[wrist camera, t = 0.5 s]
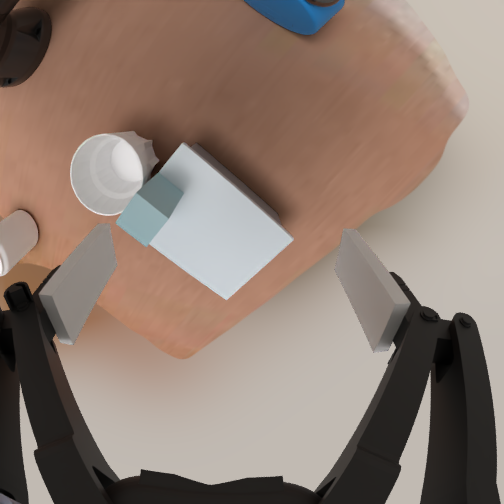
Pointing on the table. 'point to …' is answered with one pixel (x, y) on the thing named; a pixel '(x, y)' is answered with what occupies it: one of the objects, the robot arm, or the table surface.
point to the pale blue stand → (203, 223)
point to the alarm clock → (298, 13)
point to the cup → (111, 170)
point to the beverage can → (16, 239)
